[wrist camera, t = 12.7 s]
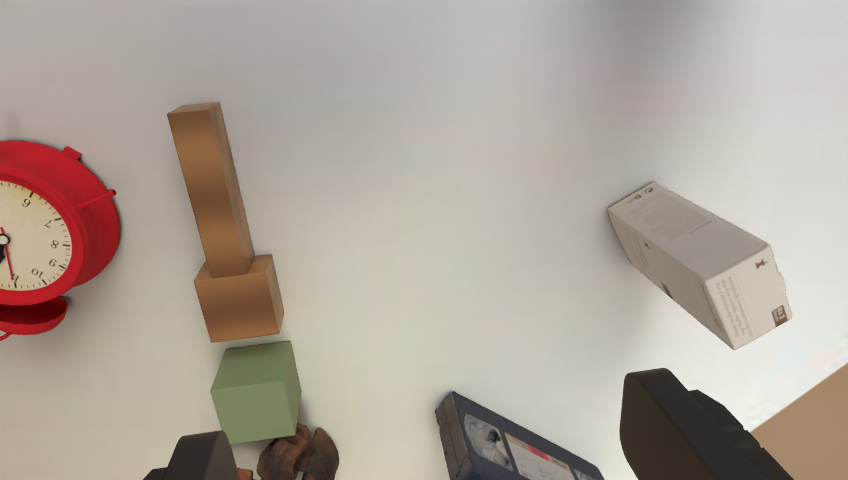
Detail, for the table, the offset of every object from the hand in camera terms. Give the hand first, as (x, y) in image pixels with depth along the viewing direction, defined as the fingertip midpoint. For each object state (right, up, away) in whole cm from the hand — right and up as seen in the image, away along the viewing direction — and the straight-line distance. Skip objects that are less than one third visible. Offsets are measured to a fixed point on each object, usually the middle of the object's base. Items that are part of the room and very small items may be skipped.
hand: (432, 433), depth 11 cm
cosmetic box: (+17, +5, +31) cm, 36 cm away
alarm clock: (-27, +4, +26) cm, 37 cm away
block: (-13, -7, +32) cm, 35 cm away
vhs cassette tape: (+9, -14, +38) cm, 42 cm away
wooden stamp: (-14, +6, +26) cm, 30 cm away
